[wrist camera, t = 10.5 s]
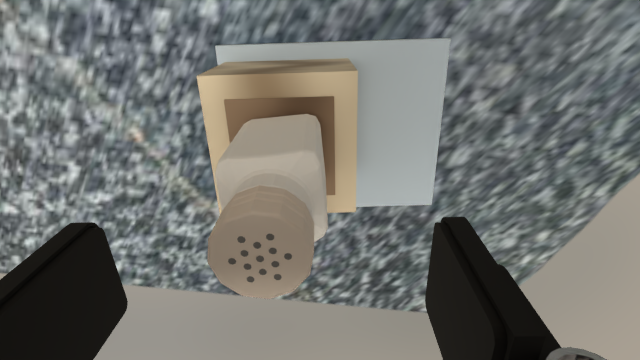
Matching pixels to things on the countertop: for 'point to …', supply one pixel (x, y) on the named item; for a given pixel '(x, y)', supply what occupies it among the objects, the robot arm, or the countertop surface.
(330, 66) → the plinth
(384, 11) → the countertop surface
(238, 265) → the pepper shaker
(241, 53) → the pale grey rectangular plate
